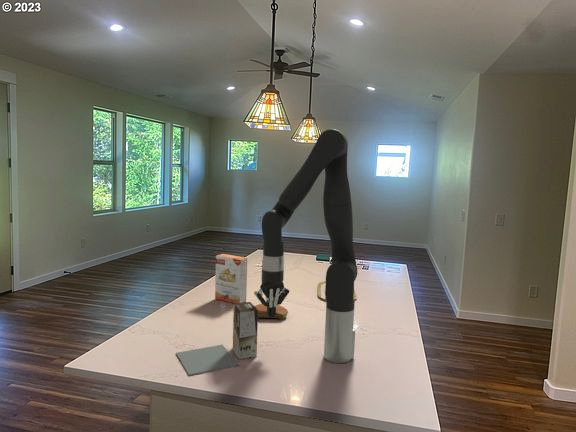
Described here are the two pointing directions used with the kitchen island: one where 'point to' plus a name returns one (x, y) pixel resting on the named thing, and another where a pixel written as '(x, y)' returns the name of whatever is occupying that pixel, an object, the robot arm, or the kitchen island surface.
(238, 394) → the kitchen island surface
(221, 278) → the cracker box
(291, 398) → the kitchen island surface
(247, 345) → the coffee box
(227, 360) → the mat
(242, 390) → the kitchen island surface
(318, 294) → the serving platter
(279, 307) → the ceramic shard
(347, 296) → the robot arm
